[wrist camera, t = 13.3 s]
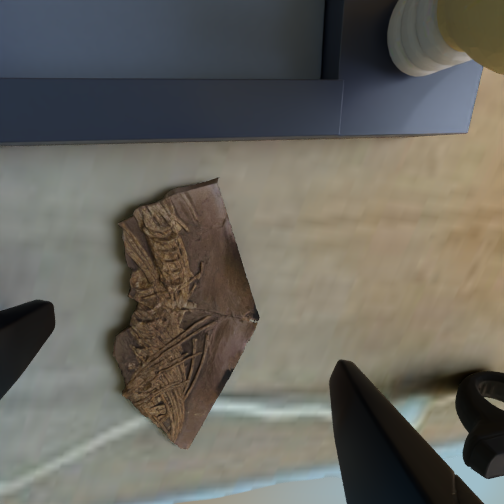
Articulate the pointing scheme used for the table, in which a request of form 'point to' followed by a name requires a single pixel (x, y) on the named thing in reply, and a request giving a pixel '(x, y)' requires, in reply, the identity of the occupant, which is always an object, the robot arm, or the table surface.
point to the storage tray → (215, 73)
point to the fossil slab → (183, 308)
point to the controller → (482, 422)
